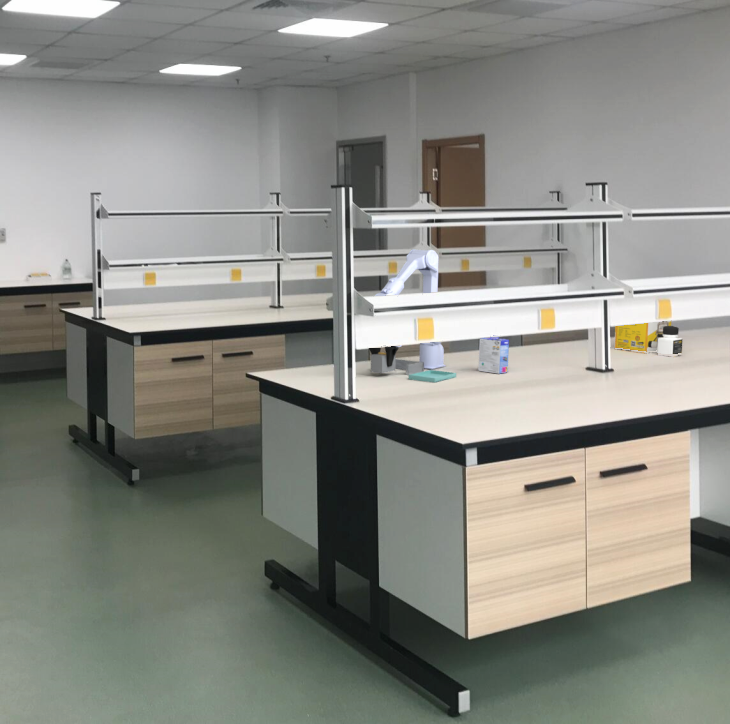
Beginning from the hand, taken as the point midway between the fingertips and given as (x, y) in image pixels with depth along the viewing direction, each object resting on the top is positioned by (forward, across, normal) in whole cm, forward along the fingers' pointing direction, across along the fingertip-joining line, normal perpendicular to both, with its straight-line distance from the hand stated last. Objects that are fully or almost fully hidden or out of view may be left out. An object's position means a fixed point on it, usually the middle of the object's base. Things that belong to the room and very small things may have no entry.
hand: (383, 365), depth 343 cm
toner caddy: (+2, 0, 0) cm, 2 cm away
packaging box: (+4, +48, +120) cm, 129 cm away
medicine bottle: (+4, +63, +111) cm, 128 cm away
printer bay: (+4, 0, +10) cm, 11 cm away
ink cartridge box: (+4, +27, +31) cm, 41 cm away
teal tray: (+4, +17, +6) cm, 18 cm away
